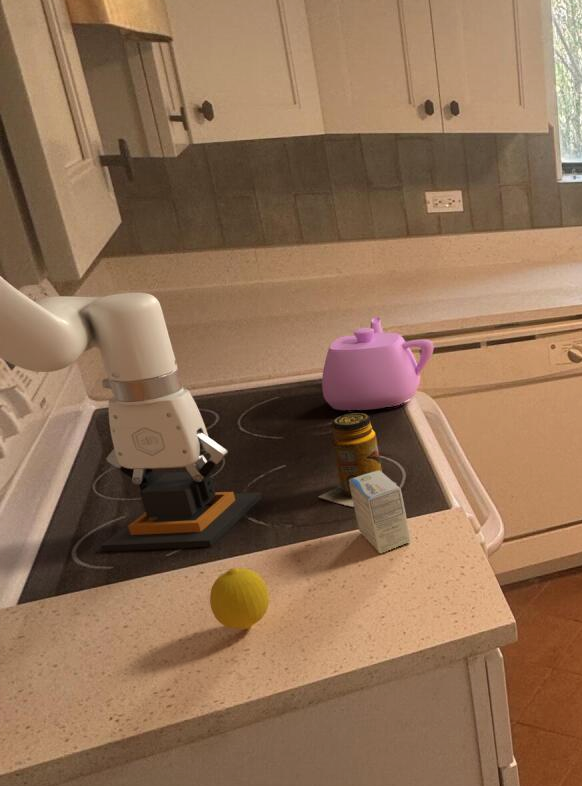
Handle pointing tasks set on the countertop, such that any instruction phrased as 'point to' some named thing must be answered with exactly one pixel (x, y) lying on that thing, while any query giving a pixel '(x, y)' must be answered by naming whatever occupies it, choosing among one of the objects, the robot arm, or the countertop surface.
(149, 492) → the small block
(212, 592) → the lemon
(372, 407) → the teapot
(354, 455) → the condiment
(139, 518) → the base pad
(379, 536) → the medicine box
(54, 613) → the countertop surface
